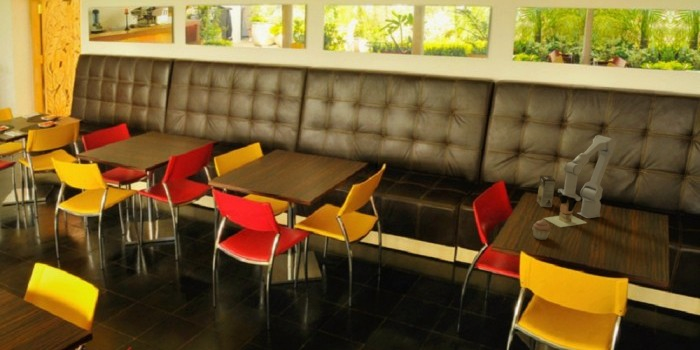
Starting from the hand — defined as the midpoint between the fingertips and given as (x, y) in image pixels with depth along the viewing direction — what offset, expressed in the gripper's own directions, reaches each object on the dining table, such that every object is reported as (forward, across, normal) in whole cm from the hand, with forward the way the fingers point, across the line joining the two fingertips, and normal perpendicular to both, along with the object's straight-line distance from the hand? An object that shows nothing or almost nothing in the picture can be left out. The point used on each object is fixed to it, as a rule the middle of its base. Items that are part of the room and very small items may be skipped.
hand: (566, 209), depth 315 cm
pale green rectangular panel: (+7, 0, 0) cm, 7 cm away
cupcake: (+7, +14, -28) cm, 32 cm away
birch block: (+6, 0, 0) cm, 6 cm away
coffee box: (+7, -24, +7) cm, 26 cm away
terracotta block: (+2, 0, 0) cm, 2 cm away
